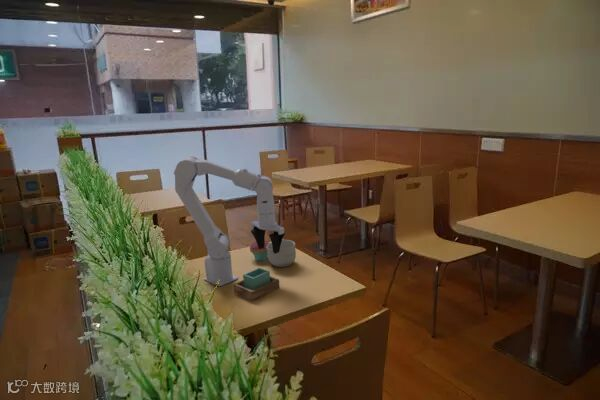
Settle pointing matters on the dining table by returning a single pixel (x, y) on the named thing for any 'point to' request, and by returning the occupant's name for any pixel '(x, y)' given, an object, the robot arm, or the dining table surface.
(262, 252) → the cupcake
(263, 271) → the teal crate
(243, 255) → the dining table surface
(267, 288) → the walnut crate
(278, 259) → the teacup
